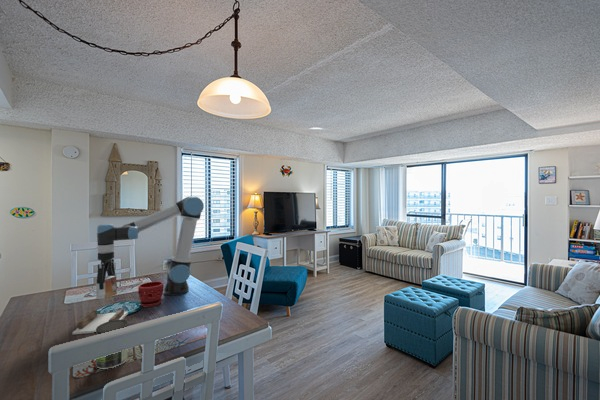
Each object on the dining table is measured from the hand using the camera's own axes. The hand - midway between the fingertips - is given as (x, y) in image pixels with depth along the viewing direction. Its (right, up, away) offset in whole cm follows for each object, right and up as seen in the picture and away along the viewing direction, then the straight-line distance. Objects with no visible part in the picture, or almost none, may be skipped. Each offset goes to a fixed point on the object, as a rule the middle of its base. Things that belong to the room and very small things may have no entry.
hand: (106, 291), depth 154 cm
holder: (+9, -10, -16) cm, 22 cm away
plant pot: (+20, -10, +9) cm, 24 cm away
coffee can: (+36, -11, -48) cm, 61 cm away
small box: (0, -3, 0) cm, 3 cm away
